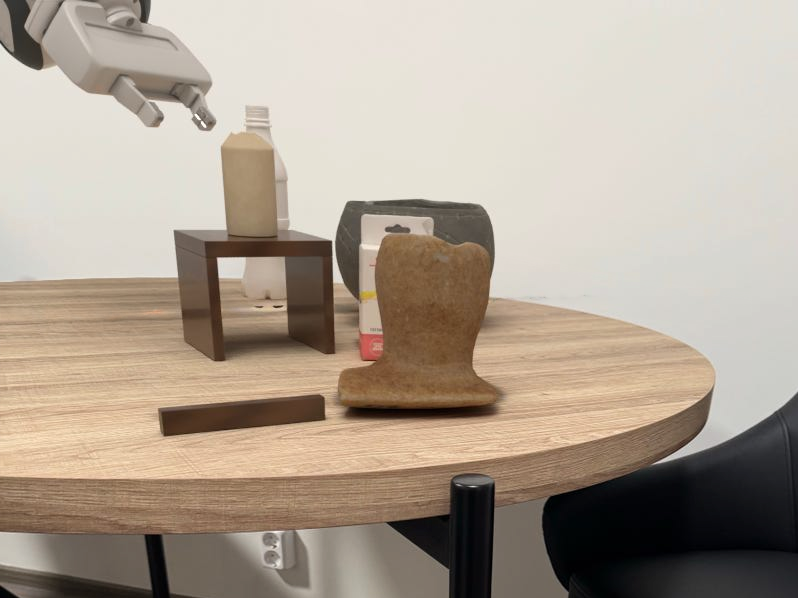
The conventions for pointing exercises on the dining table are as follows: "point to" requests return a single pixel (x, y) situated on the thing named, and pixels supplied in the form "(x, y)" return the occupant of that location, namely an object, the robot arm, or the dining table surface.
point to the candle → (249, 185)
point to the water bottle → (269, 272)
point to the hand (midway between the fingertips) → (184, 125)
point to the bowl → (449, 225)
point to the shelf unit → (301, 251)
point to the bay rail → (241, 414)
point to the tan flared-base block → (425, 327)
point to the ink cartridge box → (368, 254)
